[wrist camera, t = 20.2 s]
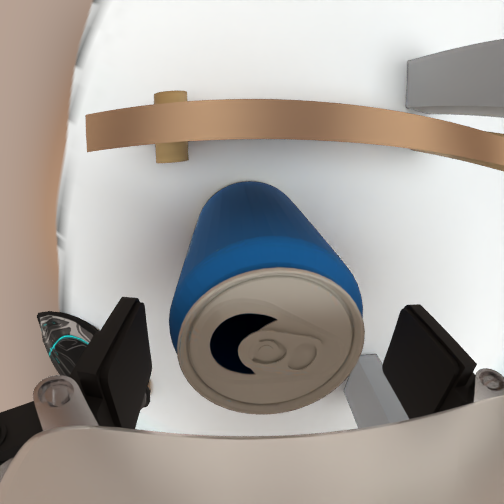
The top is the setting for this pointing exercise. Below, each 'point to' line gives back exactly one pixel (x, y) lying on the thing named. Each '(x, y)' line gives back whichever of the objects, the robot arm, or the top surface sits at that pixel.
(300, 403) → the beverage can
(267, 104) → the door
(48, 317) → the computer mouse
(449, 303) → the top surface
